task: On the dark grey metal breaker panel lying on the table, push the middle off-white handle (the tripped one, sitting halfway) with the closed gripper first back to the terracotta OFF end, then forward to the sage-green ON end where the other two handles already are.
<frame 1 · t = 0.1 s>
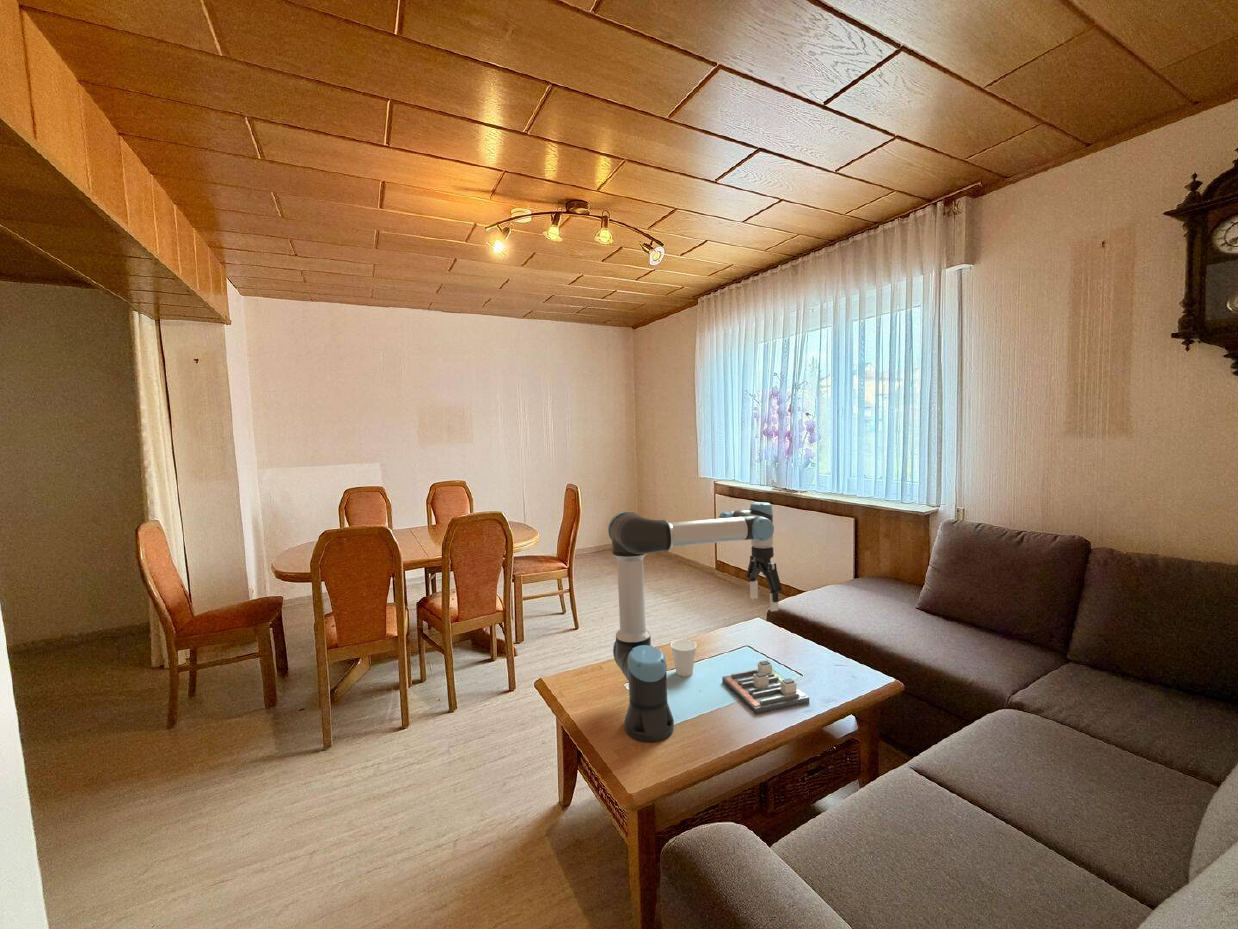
hand: (763, 604, 174), 28 cm above the table, fingers open, 13 cm apart
panel: (763, 692, 167), on the table
breaker a: (788, 687, 162), point 4 cm above the table, slide at 10.0 cm
breaker b: (761, 680, 167), point 4 cm above the table, slide at 4.0 cm
breaker c: (764, 668, 175), point 4 cm above the table, slide at 10.0 cm
cup: (684, 673, 183), on the table
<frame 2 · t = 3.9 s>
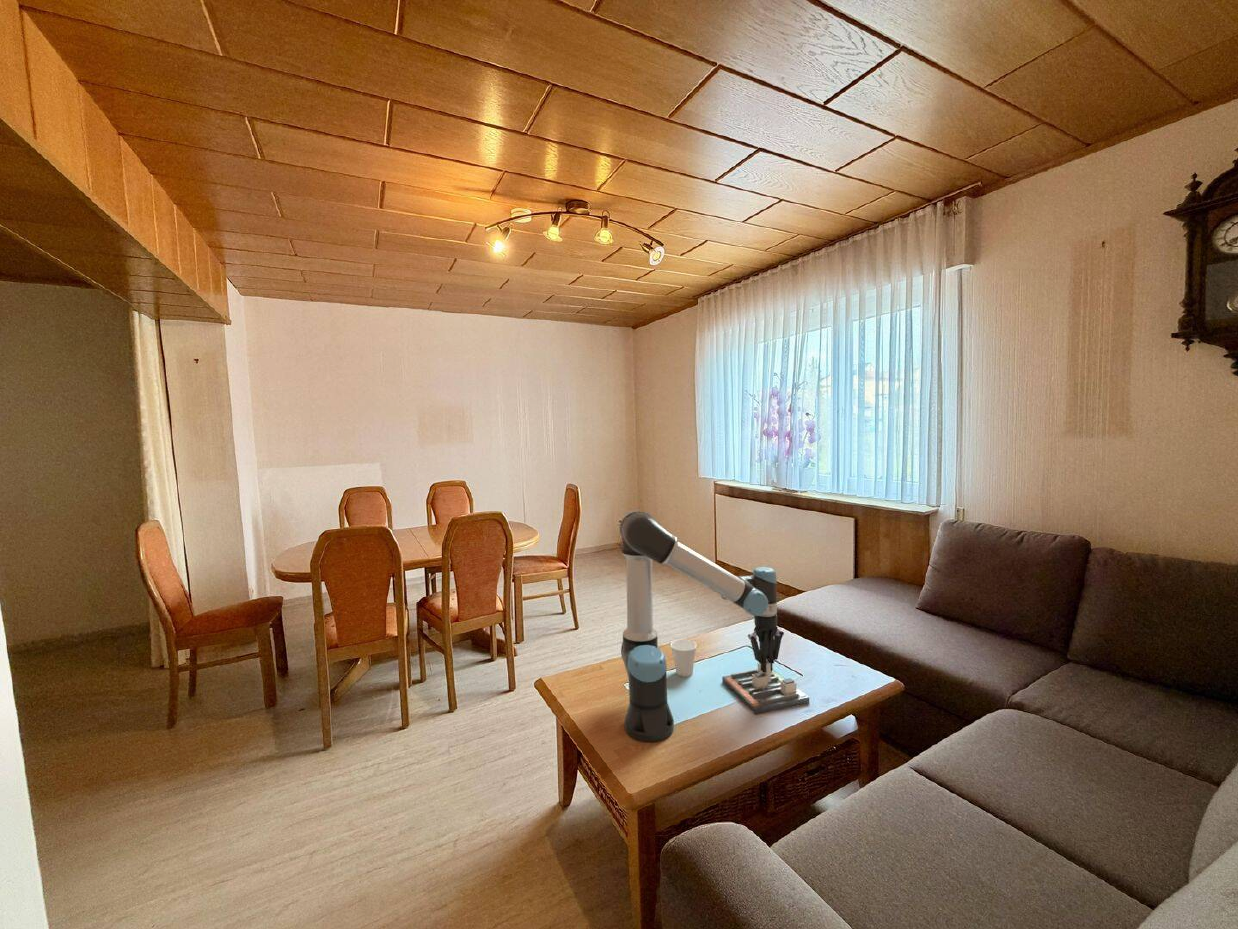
hand: (766, 680, 168), 4 cm above the table, fingers closed
breaker b: (759, 680, 167), point 4 cm above the table, slide at 3.6 cm, touching gripper
everything else where it was.
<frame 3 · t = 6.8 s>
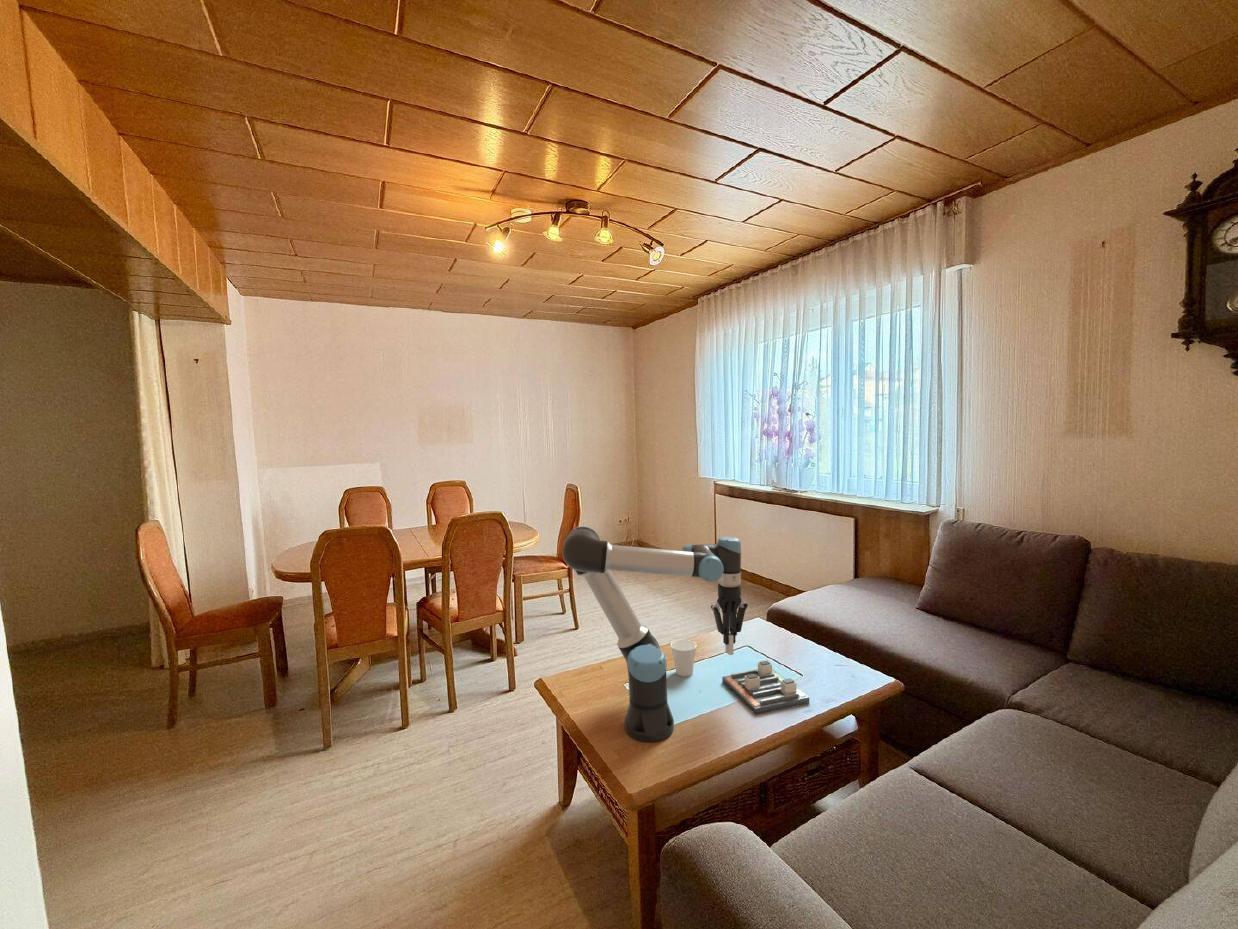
hand: (729, 653, 163), 16 cm above the table, fingers closed
breaker b: (752, 682, 166), point 4 cm above the table, slide at 0.6 cm
everything else where it was.
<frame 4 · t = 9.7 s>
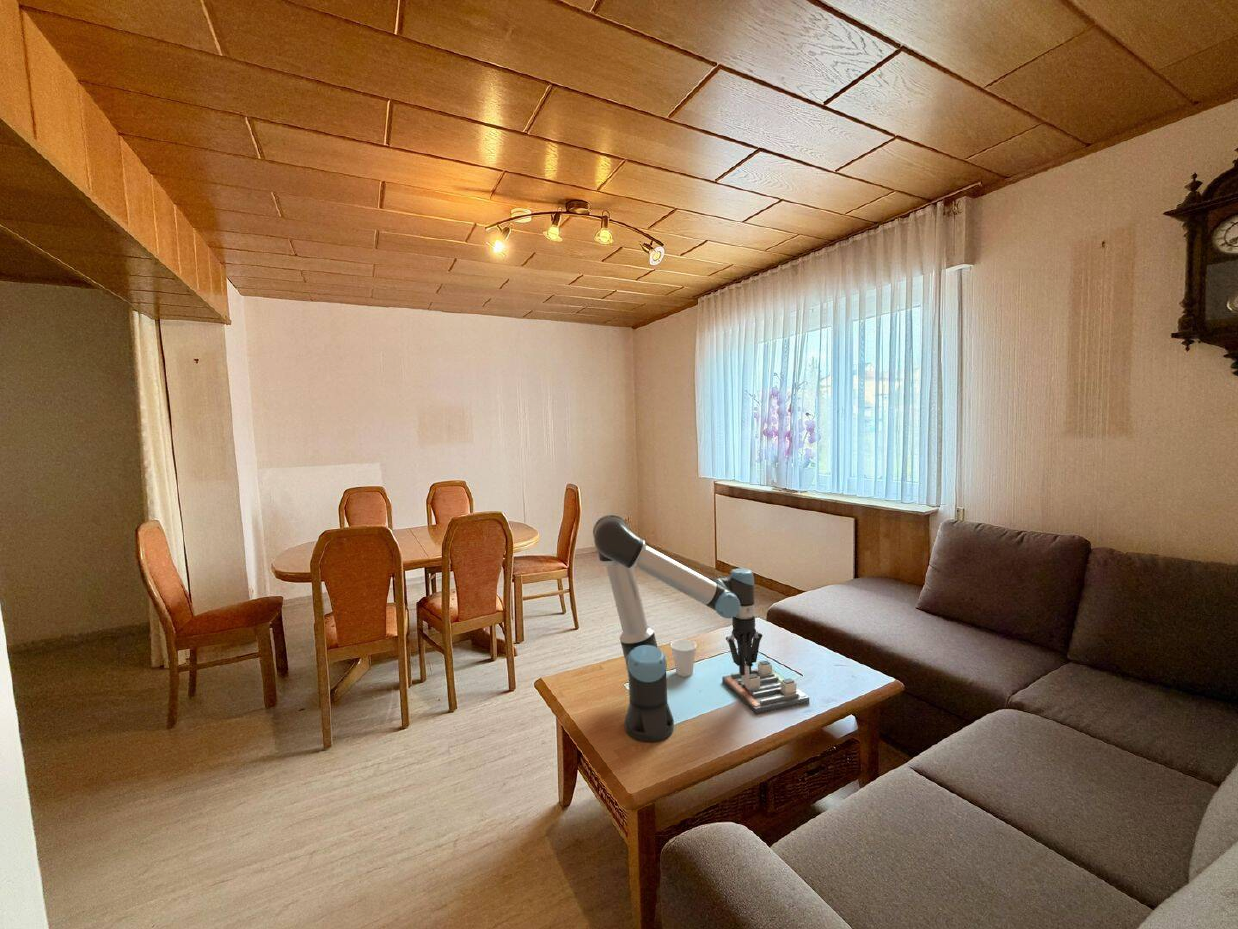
hand: (745, 683, 165), 4 cm above the table, fingers closed
breaker b: (752, 682, 166), point 4 cm above the table, slide at 0.8 cm, touching gripper
everything else where it was.
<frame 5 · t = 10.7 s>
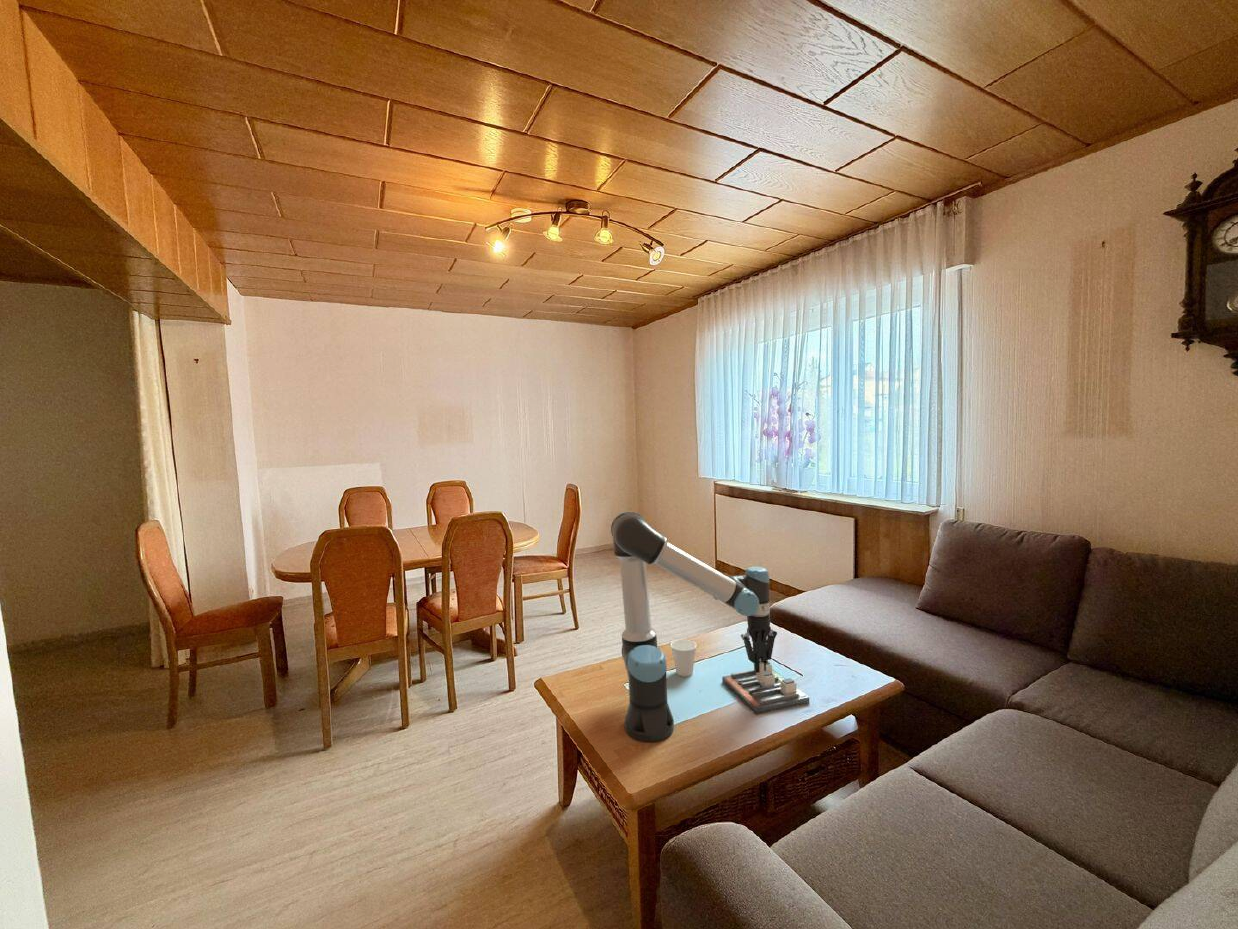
hand: (760, 680, 167), 4 cm above the table, fingers closed
breaker b: (767, 679, 167), point 4 cm above the table, slide at 6.4 cm, touching gripper
everything else where it was.
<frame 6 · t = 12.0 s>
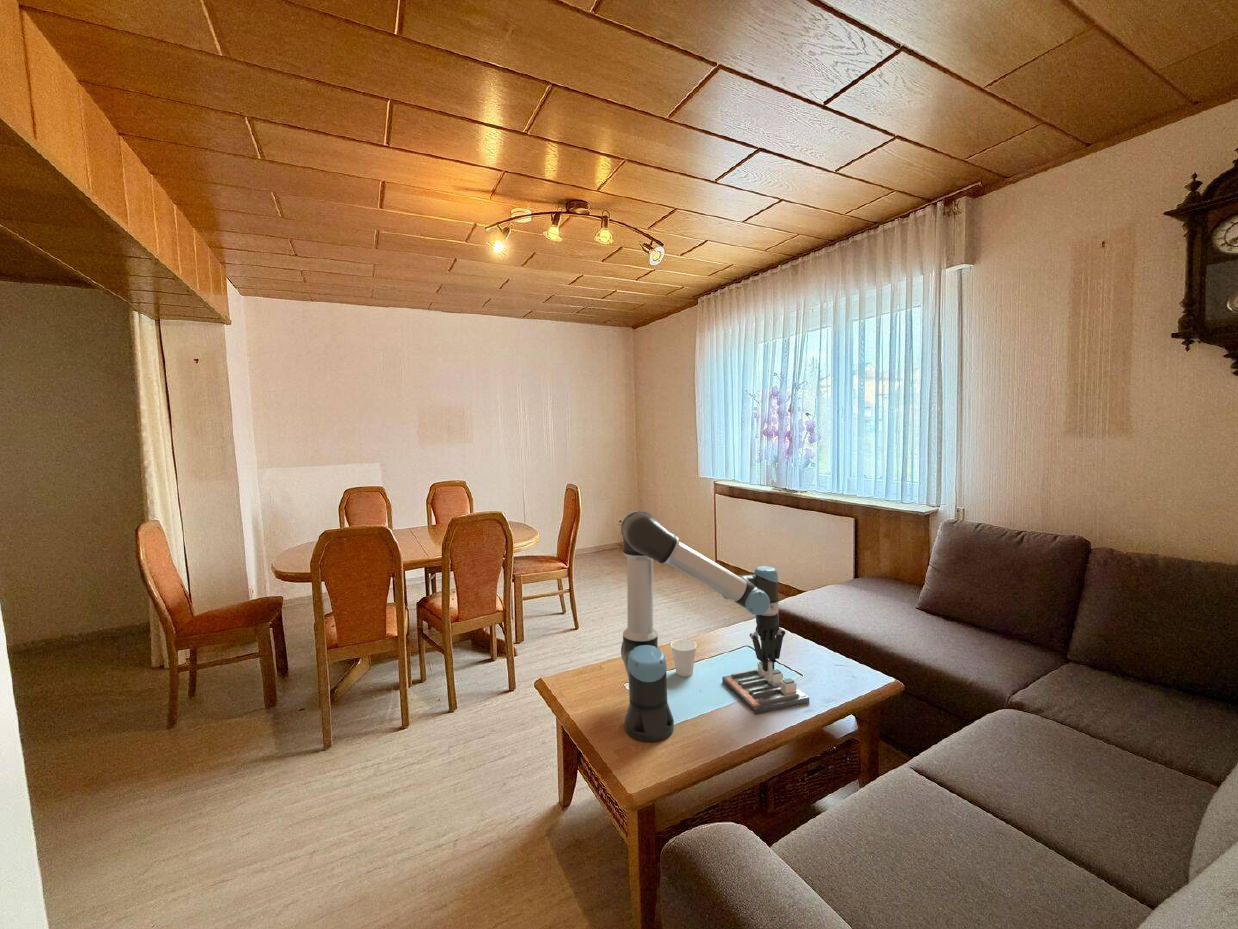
hand: (768, 679, 168), 4 cm above the table, fingers closed
breaker b: (775, 677, 168), point 4 cm above the table, slide at 9.7 cm, touching gripper
everything else where it was.
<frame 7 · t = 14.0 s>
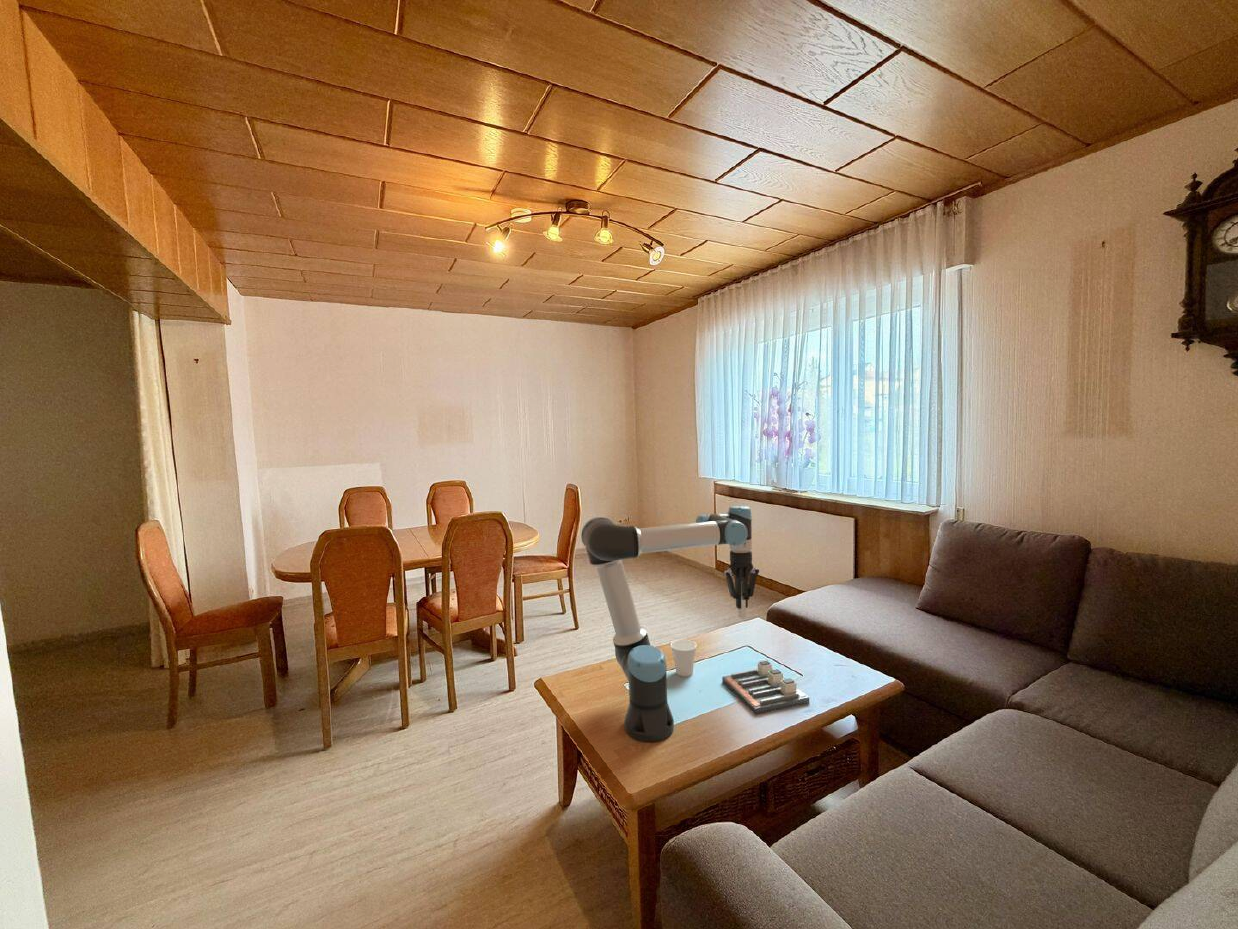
hand: (742, 617, 170), 25 cm above the table, fingers closed
breaker b: (775, 677, 168), point 4 cm above the table, slide at 9.7 cm
everything else where it was.
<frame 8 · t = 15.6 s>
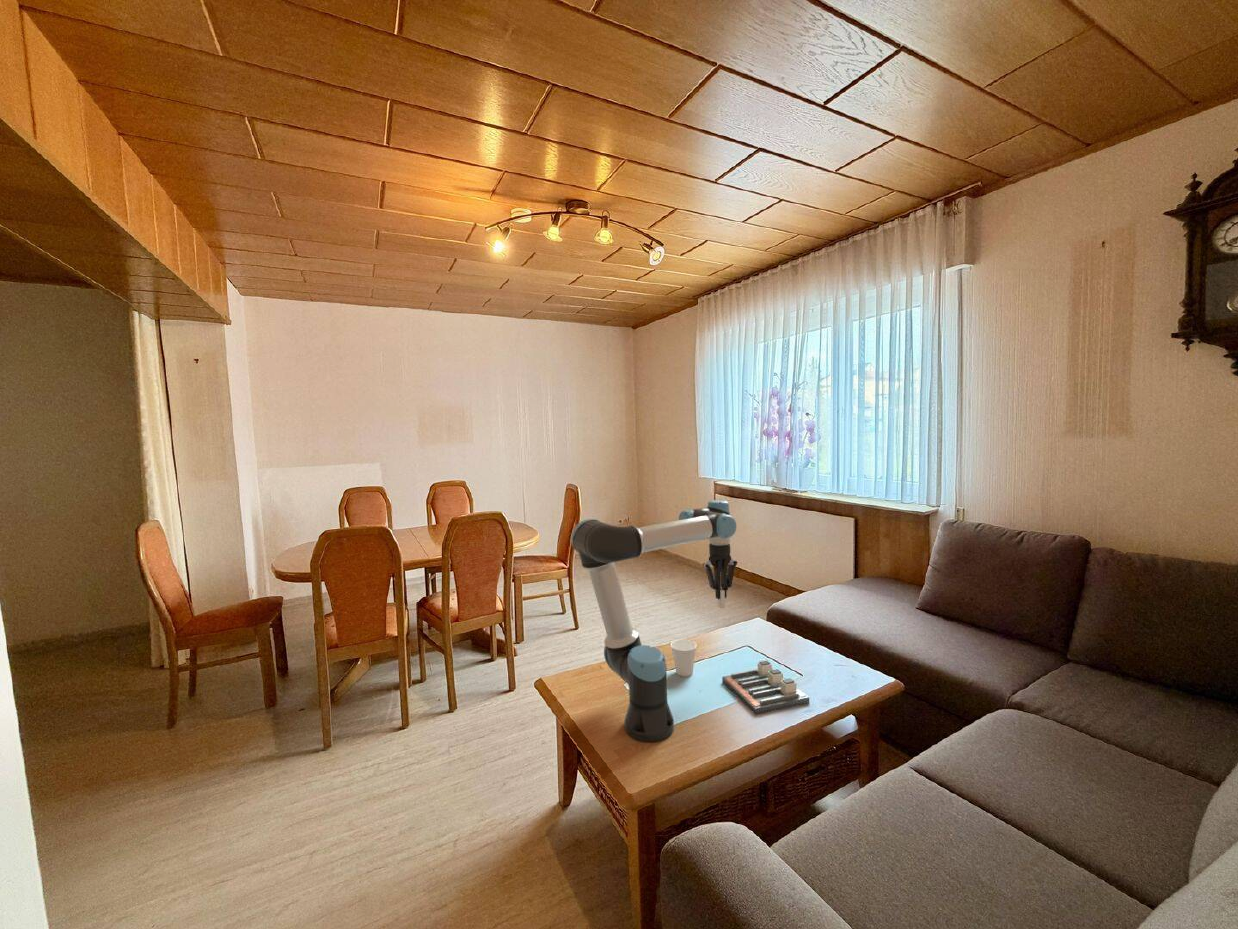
hand: (721, 607, 177), 26 cm above the table, fingers closed
nothing on the table moved.
at the end: breaker b slide at 9.7 cm; breaker a slide at 10.0 cm; breaker c slide at 10.0 cm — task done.
